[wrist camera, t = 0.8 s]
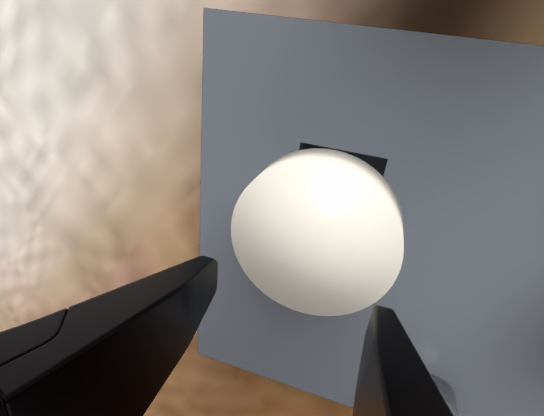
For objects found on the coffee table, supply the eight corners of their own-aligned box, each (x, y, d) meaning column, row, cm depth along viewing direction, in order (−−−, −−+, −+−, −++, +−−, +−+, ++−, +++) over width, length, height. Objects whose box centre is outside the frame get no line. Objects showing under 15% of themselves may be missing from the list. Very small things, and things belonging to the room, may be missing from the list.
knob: (420, 142, 13) (428, 184, 9) (384, 263, 15) (379, 336, 12) (278, 116, 14) (235, 145, 10) (265, 233, 16) (226, 290, 13)
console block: (915, 89, 12) (1188, 118, 8) (627, 422, 21) (688, 525, 16) (251, 14, 18) (203, 7, 14) (231, 300, 26) (197, 353, 22)
